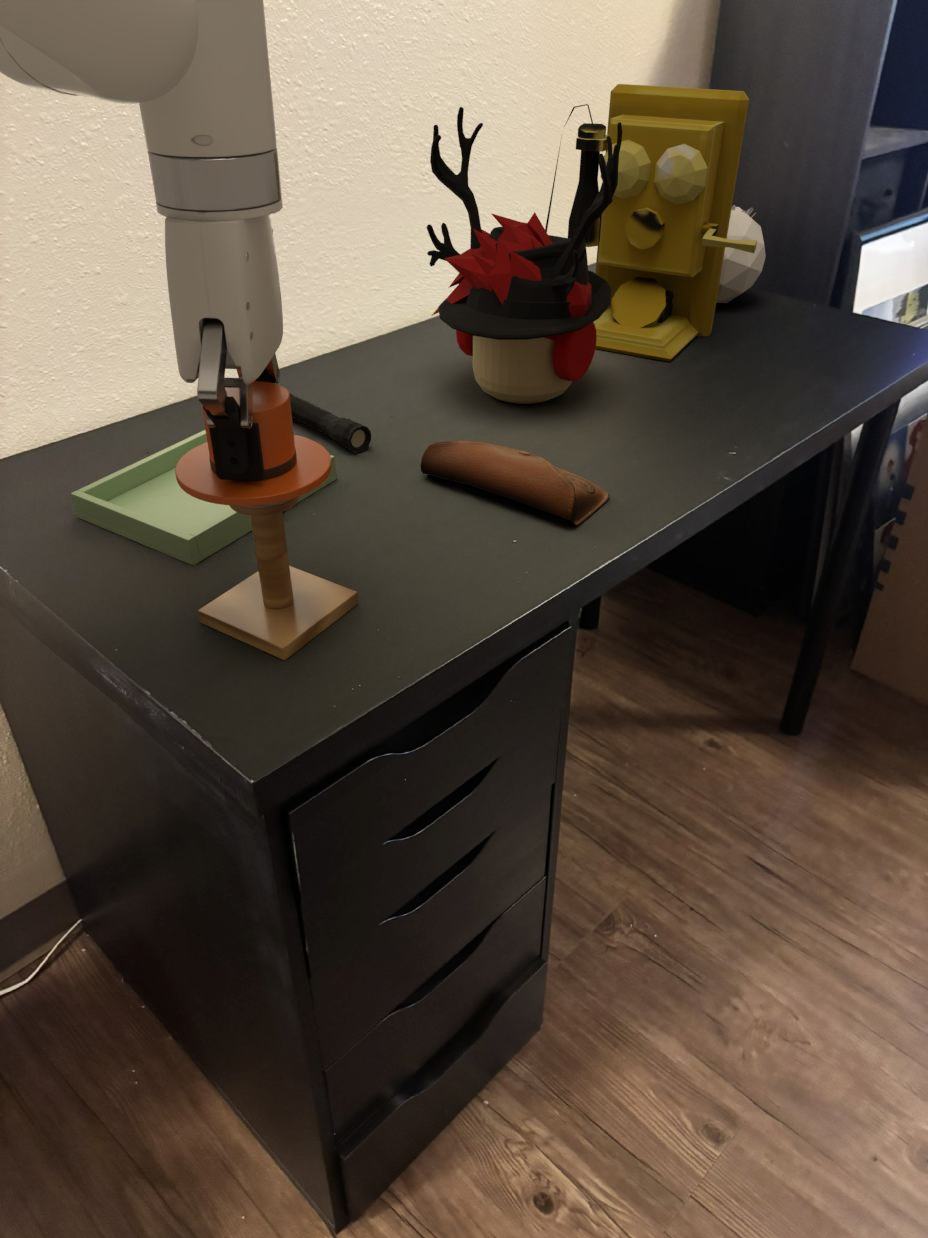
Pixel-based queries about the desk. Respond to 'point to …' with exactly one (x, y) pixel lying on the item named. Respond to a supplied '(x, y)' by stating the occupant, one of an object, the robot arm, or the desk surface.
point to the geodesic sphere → (741, 256)
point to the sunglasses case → (515, 477)
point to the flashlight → (332, 425)
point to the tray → (164, 507)
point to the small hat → (285, 455)
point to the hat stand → (276, 593)
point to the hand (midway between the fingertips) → (253, 454)
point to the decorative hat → (522, 290)
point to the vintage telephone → (662, 212)
